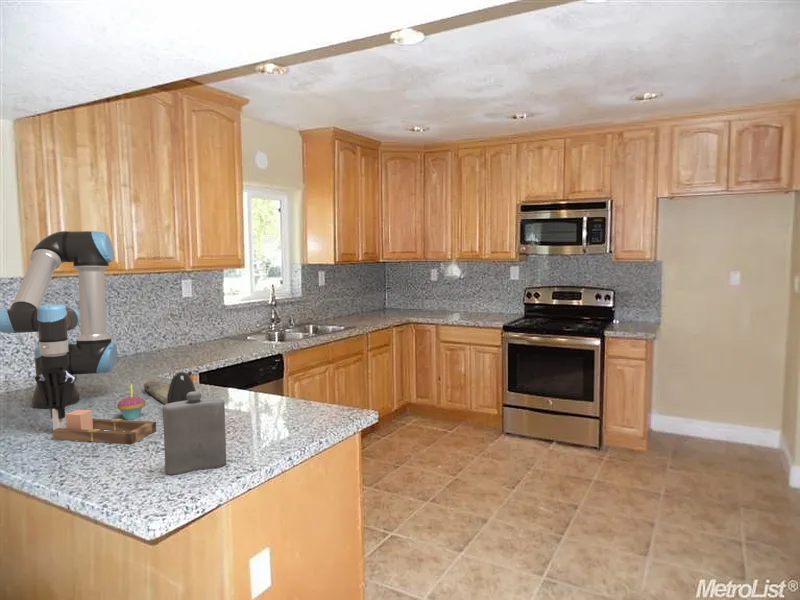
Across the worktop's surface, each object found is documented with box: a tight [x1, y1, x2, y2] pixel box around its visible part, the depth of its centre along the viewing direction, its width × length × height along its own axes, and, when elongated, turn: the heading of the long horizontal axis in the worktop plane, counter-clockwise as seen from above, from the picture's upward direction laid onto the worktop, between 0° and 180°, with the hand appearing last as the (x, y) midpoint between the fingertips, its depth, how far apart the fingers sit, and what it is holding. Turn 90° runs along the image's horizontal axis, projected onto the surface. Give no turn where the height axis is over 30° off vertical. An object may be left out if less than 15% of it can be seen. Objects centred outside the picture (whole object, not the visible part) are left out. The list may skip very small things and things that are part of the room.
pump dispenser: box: [166, 371, 197, 404], centre depth 184 cm, size 10×10×15 cm
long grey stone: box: [143, 380, 170, 405], centre depth 210 cm, size 35×5×10 cm
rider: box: [65, 409, 93, 430], centre depth 165 cm, size 5×5×7 cm
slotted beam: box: [52, 418, 157, 445], centre depth 164 cm, size 12×26×3 cm, turn 81°
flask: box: [162, 390, 227, 476], centre depth 138 cm, size 15×6×20 cm, turn 115°
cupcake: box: [117, 381, 146, 420], centre depth 182 cm, size 9×8×12 cm
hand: (58, 428), depth 167 cm, fingers closed
